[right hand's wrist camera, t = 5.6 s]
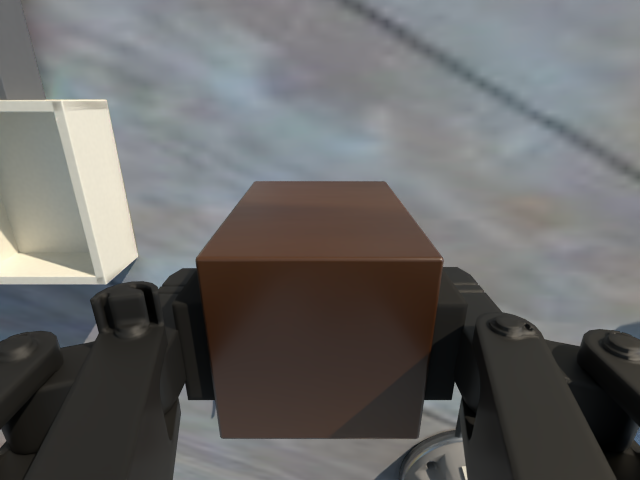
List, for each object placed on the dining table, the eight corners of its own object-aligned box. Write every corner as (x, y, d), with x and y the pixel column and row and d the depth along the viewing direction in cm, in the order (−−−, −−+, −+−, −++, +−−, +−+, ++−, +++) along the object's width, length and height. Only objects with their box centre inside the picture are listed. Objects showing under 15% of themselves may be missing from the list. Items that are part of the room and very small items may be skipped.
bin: (138, 256, 36) (106, 284, 31) (20, 256, 36) (-33, 284, 31) (71, -78, 26) (6, -123, 21) (-91, -78, 26) (-198, -123, 21)
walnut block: (378, 296, 16) (419, 440, 9) (261, 296, 16) (219, 440, 9) (386, 181, 14) (445, 258, 7) (253, 180, 14) (193, 258, 7)
